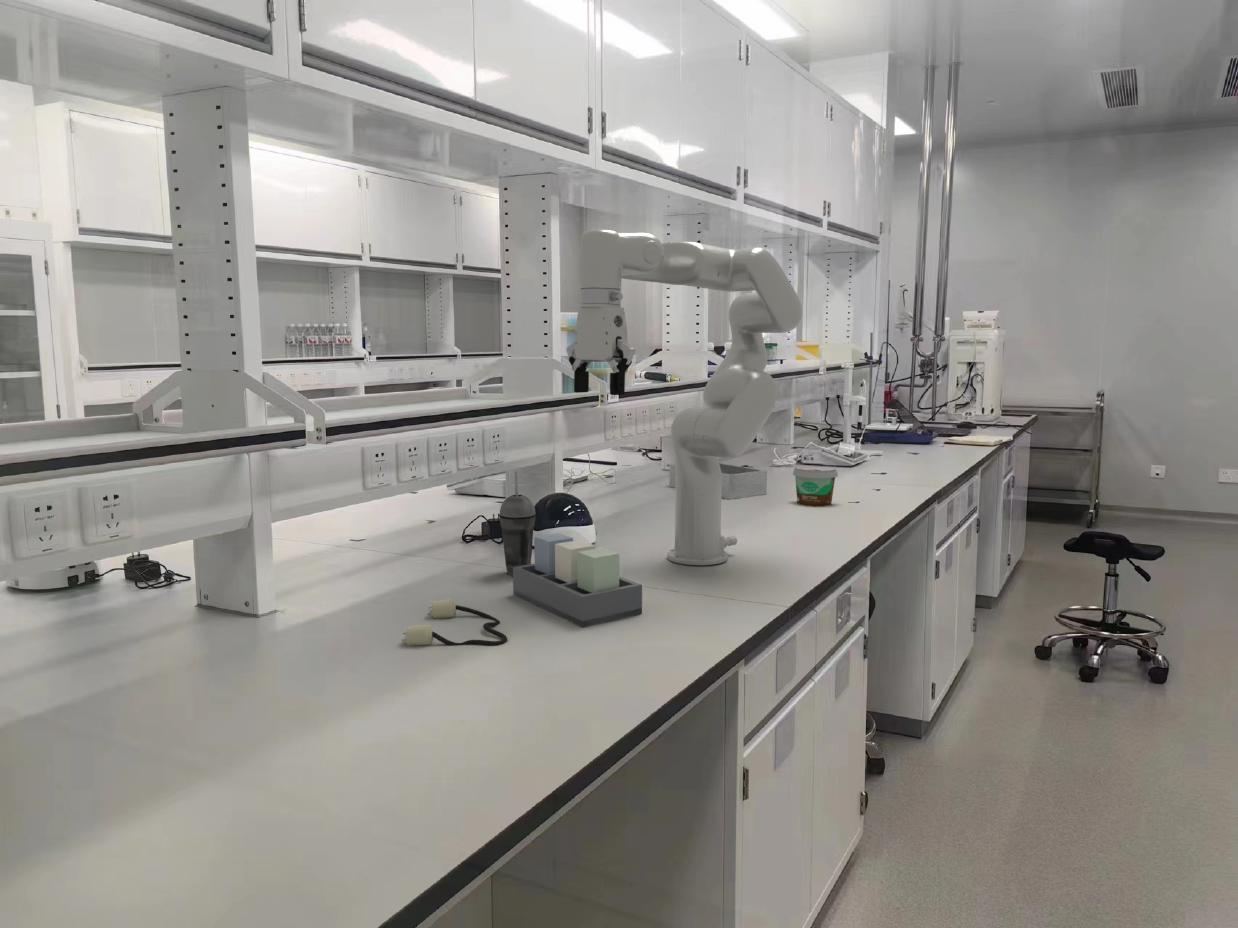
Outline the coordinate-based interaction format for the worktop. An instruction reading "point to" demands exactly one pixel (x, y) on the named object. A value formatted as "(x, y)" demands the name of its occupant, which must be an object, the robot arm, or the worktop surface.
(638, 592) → the box
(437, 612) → the cable
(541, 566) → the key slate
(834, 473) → the food container
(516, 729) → the worktop surface
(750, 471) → the grey storage bin
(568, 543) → the key ivory
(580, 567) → the key sage
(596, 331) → the robot arm
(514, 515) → the beverage cup
